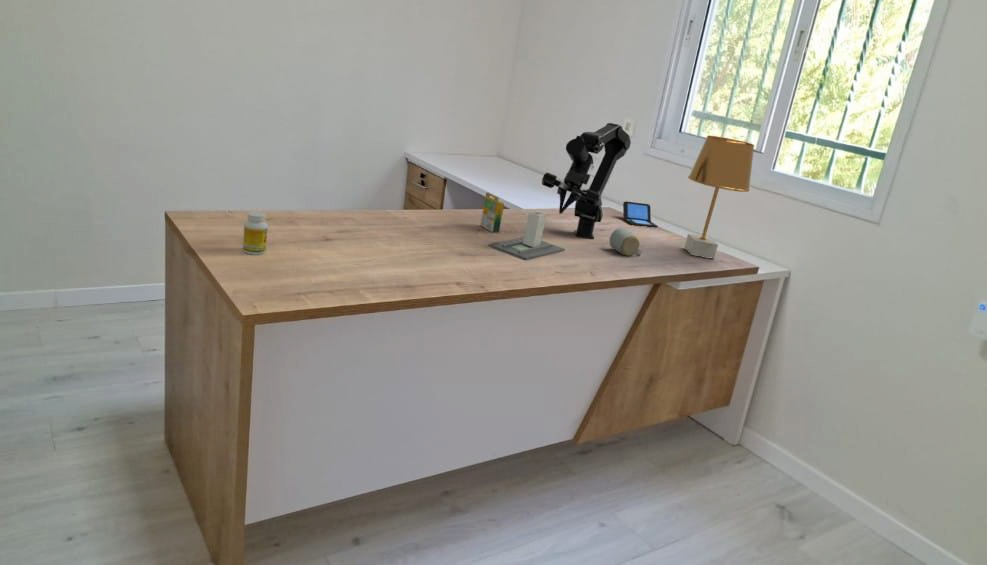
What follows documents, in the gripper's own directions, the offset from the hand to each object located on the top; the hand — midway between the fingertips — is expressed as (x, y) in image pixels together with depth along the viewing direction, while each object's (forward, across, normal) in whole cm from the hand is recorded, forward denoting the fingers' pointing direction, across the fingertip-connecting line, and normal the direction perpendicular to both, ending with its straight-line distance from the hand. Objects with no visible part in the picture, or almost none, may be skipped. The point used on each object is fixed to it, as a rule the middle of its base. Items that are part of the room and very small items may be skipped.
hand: (560, 213), depth 218 cm
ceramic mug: (0, +24, +15) cm, 29 cm away
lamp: (-14, +50, +32) cm, 61 cm away
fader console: (+15, -5, -2) cm, 16 cm away
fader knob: (+13, -4, -1) cm, 14 cm away
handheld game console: (-25, +28, +61) cm, 71 cm away
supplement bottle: (+52, -62, -48) cm, 95 cm away
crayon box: (+11, -20, +11) cm, 25 cm away
